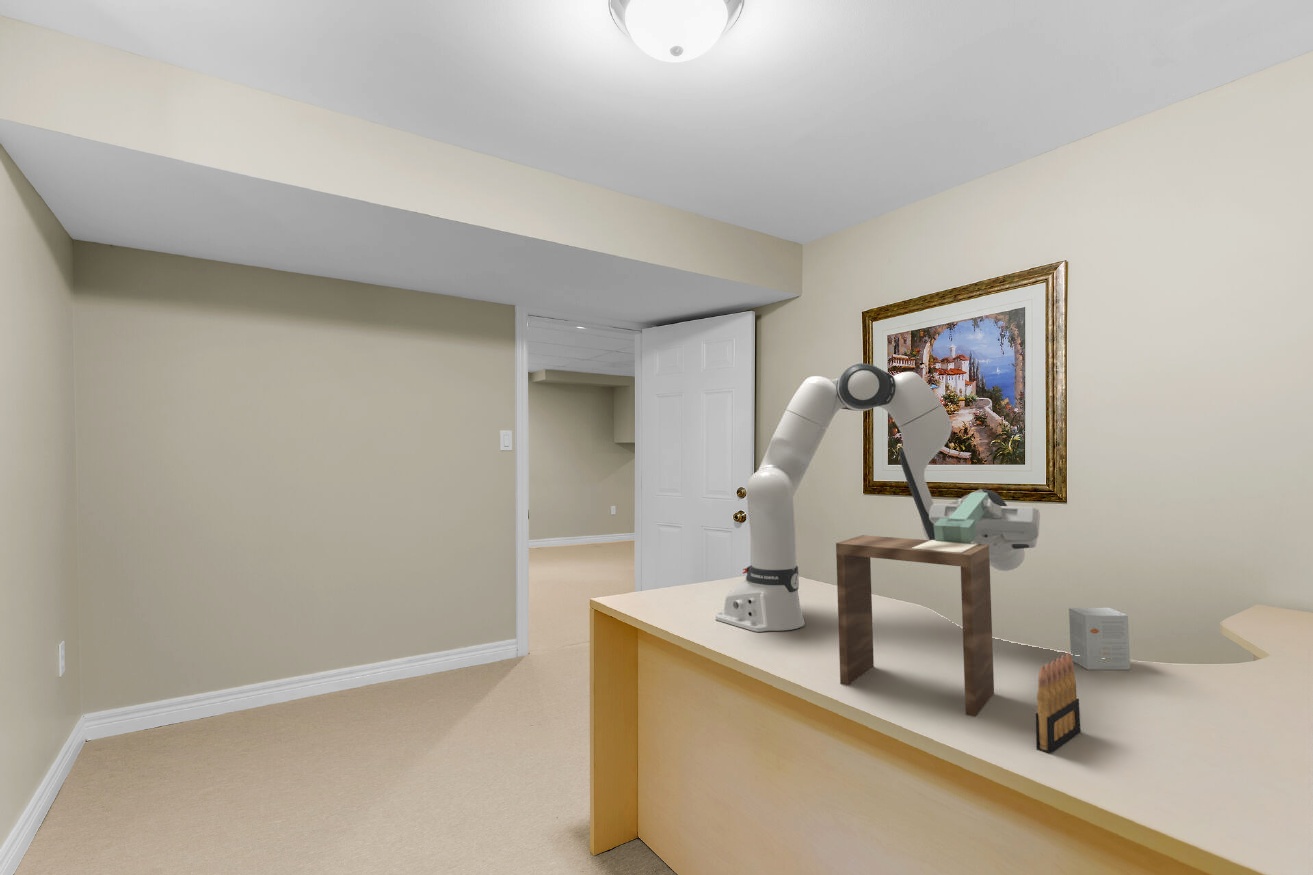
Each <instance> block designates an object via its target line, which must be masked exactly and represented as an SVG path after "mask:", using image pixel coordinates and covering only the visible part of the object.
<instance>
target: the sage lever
mask: <svg viewBox="0 0 1313 875" xmlns="http://www.w3.org/2000/svg"><path fill="white" fill-rule="evenodd" d="M969 494H970V495H969V496H968V497H967V498H966V499H965V500H964V501H963V503H962V504H961V505H960V506H959V507H958V508H957V509H956V511H955V512H954V513H953V514H952V515H951V516H950V517H949V518H940V519H939V520H938V521H937V522H936V523H935V524H934V525H933V526H934V534H935V541H946V542H959V543H972V541H973V539H974V538H975V537H976V526H975V525H976V523H977V522H978V521H979V519H980V518H981V517H982V515H983V514H984V513H985V512H986V511H984V510H983V508H982V504H983V502H982V501H983V500H988V493H977V492H975V491H972V492H970V493H969Z"/></svg>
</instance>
